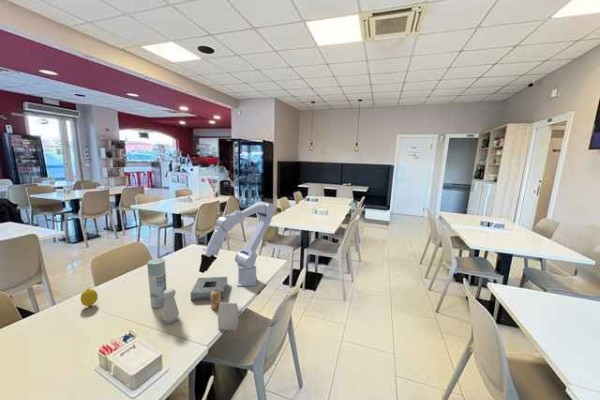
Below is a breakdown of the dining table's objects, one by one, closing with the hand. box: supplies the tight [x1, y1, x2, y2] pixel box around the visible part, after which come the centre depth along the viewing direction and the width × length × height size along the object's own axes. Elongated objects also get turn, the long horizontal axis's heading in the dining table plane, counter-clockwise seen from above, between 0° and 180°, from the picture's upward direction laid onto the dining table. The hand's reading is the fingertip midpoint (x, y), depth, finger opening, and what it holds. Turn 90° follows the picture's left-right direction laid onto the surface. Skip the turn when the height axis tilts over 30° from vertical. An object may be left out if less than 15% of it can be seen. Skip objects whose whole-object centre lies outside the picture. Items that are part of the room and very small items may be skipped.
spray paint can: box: [146, 257, 168, 309], centre depth 109 cm, size 6×6×20 cm
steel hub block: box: [190, 276, 228, 302], centre depth 121 cm, size 14×14×4 cm
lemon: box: [80, 288, 99, 307], centre depth 107 cm, size 6×6×8 cm
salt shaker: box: [162, 288, 180, 324], centre depth 99 cm, size 6×6×13 cm
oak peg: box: [210, 290, 222, 311], centre depth 109 cm, size 4×4×7 cm
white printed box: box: [217, 301, 239, 331], centre depth 97 cm, size 4×7×10 cm, turn 88°
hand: (202, 271), depth 111 cm, fingers open, 7 cm apart
